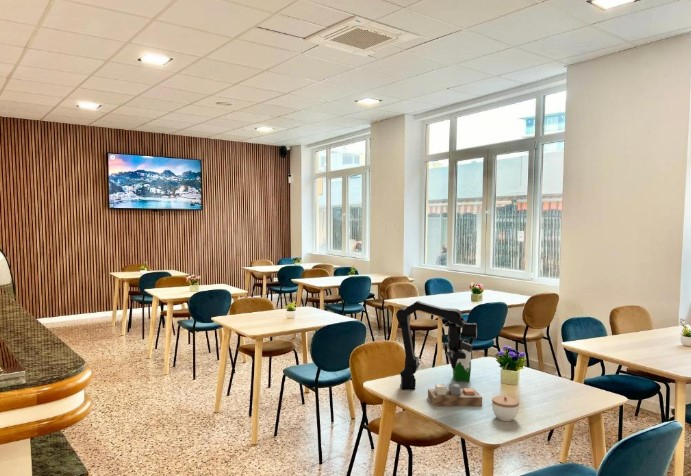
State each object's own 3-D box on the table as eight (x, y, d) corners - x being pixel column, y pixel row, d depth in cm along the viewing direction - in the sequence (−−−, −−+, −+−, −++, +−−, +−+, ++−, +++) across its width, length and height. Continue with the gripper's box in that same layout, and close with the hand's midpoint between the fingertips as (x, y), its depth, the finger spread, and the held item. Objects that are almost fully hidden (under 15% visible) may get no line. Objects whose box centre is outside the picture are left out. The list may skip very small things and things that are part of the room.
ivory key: (437, 395, 219) (437, 387, 219) (435, 392, 223) (435, 384, 223) (446, 395, 220) (446, 386, 219) (443, 392, 224) (443, 383, 223)
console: (433, 406, 216) (433, 397, 216) (427, 397, 227) (428, 389, 227) (482, 406, 217) (482, 397, 217) (473, 397, 228) (474, 388, 228)
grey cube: (451, 395, 220) (451, 386, 220) (449, 392, 224) (449, 383, 224) (460, 395, 220) (460, 386, 220) (457, 392, 224) (457, 383, 224)
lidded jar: (503, 425, 197) (504, 402, 197) (486, 415, 207) (486, 393, 207) (524, 421, 201) (524, 399, 201) (505, 411, 211) (506, 390, 211)
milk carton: (451, 376, 258) (451, 339, 257) (468, 376, 258) (469, 339, 257) (454, 381, 249) (455, 343, 249) (472, 382, 249) (473, 343, 249)
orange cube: (465, 400, 220) (465, 391, 220) (462, 397, 224) (462, 388, 224) (474, 400, 221) (474, 391, 220) (471, 396, 224) (471, 388, 224)
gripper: (477, 341, 222) (476, 374, 223) (465, 331, 241) (464, 362, 241) (453, 340, 222) (452, 374, 222) (443, 331, 240) (442, 362, 241)
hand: (453, 368), depth 232 cm, fingers closed
